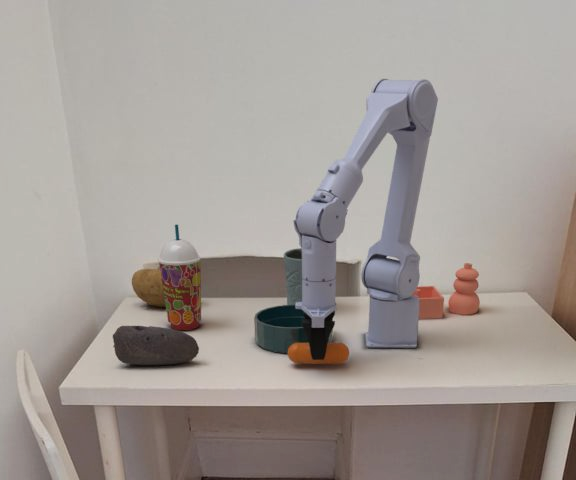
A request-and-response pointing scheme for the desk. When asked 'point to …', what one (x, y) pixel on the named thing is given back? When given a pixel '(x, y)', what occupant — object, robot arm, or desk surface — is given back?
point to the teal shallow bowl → (280, 328)
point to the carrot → (303, 355)
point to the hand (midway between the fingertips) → (318, 355)
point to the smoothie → (181, 283)
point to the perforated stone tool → (153, 345)
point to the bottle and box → (459, 301)
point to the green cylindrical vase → (293, 275)
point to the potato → (149, 286)
